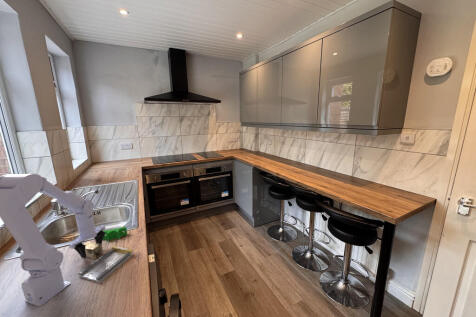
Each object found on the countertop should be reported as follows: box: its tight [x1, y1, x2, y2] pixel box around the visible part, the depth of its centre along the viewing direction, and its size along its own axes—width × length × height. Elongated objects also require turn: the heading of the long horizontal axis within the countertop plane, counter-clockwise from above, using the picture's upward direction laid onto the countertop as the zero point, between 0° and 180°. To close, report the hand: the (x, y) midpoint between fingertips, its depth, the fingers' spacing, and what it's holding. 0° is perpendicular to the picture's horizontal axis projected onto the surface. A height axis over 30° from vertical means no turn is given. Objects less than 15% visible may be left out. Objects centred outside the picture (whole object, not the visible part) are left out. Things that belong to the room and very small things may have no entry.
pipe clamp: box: [103, 226, 128, 242], centre depth 99 cm, size 11×4×5 cm, turn 110°
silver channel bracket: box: [77, 245, 134, 284], centre depth 81 cm, size 16×11×3 cm
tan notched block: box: [83, 240, 104, 261], centre depth 87 cm, size 8×4×5 cm, turn 74°
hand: (92, 252), depth 87 cm, fingers open, 6 cm apart
